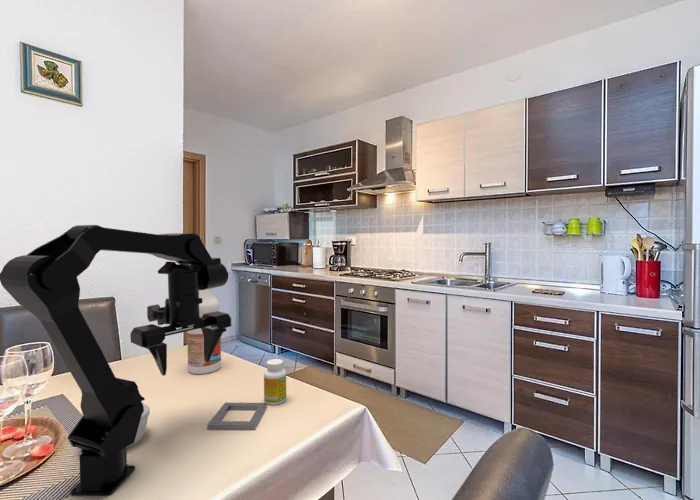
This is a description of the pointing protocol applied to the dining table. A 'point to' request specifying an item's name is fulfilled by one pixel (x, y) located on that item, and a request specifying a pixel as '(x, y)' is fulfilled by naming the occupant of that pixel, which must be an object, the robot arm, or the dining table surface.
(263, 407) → the frame
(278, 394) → the supplement bottle
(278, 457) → the dining table surface
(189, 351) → the fruit juice
